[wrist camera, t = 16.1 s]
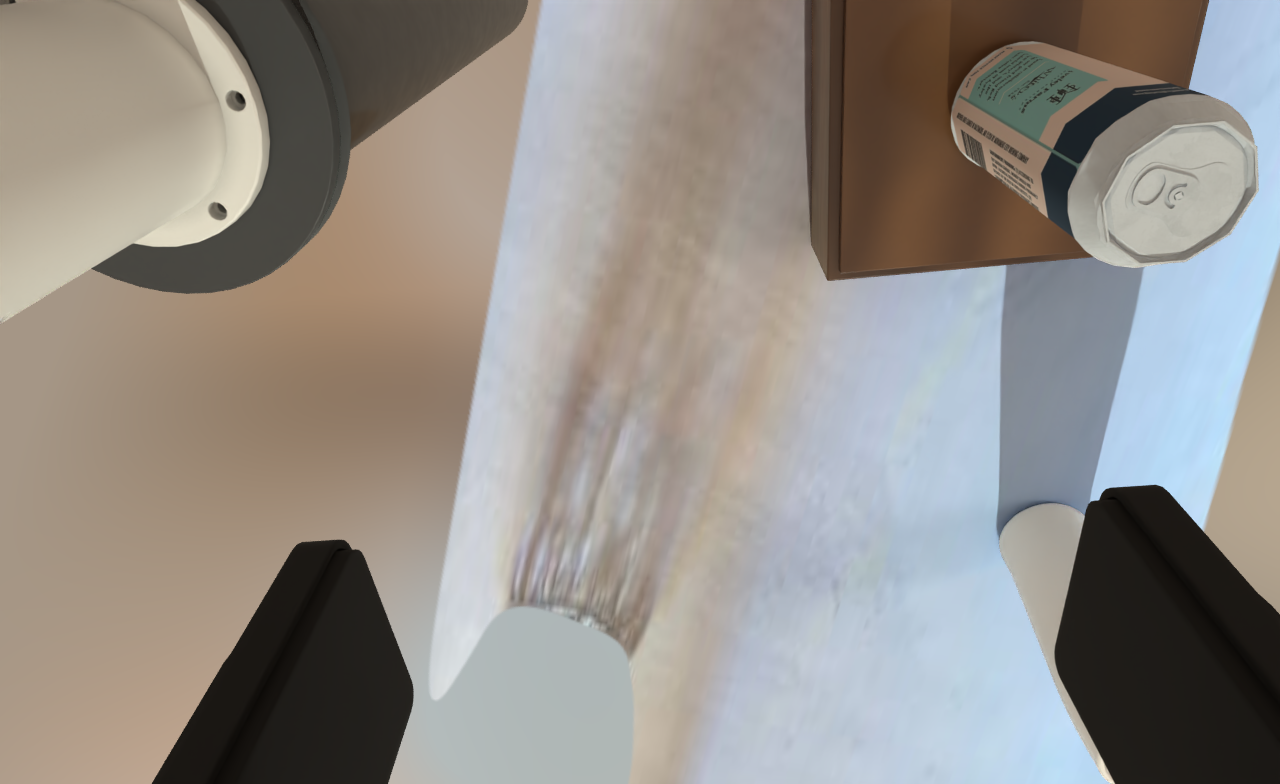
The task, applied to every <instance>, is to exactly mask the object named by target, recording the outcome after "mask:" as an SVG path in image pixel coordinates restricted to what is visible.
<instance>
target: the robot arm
mask: <svg viewBox="0 0 1280 784" xmlns="http://www.w3.org/2000/svg"><path fill="white" fill-rule="evenodd" d="M240 93H241V94H242V95H243V97H244V99H245V102H244V101H242V100H241V98H240ZM269 150H270V136H269V127H268V118H267V113H266V110H265V106H264V103H263V99H262V96H261V93H260V89H259V87H258V84H257V82H256V80H255V78H254V76H253V74H252V72H251V70H250V68H249V66H248V63H247V61H246V59H245V58H244V57H243V55H242V54H241V52H240V51H239V49H238V48H237V46H236V45H235V43H234V42H233V40H232V39H231V37H230V36H229V34H228V33H227V32H226V31H225V30H224V29H223V27H222V26H221V25H220V24H219V23H218V22H217V21H216V20H215V19H214V17H213V16H212V15H211V14H210V13H209V12H208V11H207V10H206V9H205V8H204V7H203V6H202V5H200V4H199V3H198V2H197V1H196V0H0V324H1V323H2V322H4V321H6V320H7V319H9V318H11V317H12V316H14V315H16V314H17V313H19V312H20V311H22V310H24V309H25V308H27V307H28V306H30V305H32V304H33V303H35V302H37V301H38V300H40V299H42V298H43V297H45V296H47V295H48V294H50V293H51V292H53V291H55V290H56V289H58V288H59V287H61V286H63V285H65V284H66V283H68V282H69V281H71V280H73V279H74V278H76V277H78V276H79V275H81V274H83V273H84V272H86V271H88V270H89V269H91V268H93V267H94V266H96V265H98V264H99V263H101V262H103V261H104V260H106V259H108V258H109V257H111V256H113V255H114V254H116V253H117V252H119V251H121V250H122V249H124V248H126V247H127V246H129V245H131V244H132V243H134V244H140V245H146V246H152V247H178V246H183V245H187V244H192V243H197V242H201V241H203V240H205V239H207V238H209V237H212V236H214V235H216V234H218V233H220V232H221V231H223V230H224V229H226V228H227V227H229V226H230V225H232V224H233V223H234V222H236V221H237V220H238V219H239V218H240V217H241V216H242V215H243V214H244V213H245V212H246V211H247V210H248V209H249V208H250V207H251V205H252V203H253V202H254V200H255V198H256V197H257V195H258V193H259V192H260V190H261V188H262V185H263V182H264V178H265V175H266V172H267V169H268V162H269ZM222 205H223V206H224V207H225V208H224V207H223V206H222ZM1054 657H1055V664H1056V668H1057V672H1058V675H1059V677H1060V679H1061V681H1062V683H1063V685H1064V687H1065V689H1066V691H1067V693H1068V695H1069V697H1070V699H1071V700H1072V702H1073V704H1074V706H1075V708H1076V710H1077V712H1078V714H1079V716H1080V718H1081V720H1082V722H1083V723H1084V725H1085V727H1086V729H1087V731H1088V733H1089V735H1090V737H1091V739H1092V741H1093V743H1094V745H1095V746H1096V748H1097V750H1098V752H1099V754H1100V756H1101V758H1102V760H1103V762H1104V764H1105V766H1106V768H1107V770H1108V771H1109V773H1110V775H1111V777H1112V779H1113V781H1114V783H1115V784H1280V614H1279V613H1278V612H1277V611H1276V610H1275V609H1274V608H1273V606H1272V605H1270V604H1269V603H1268V602H1267V601H1266V600H1265V599H1264V598H1263V597H1261V596H1260V595H1259V594H1258V593H1257V592H1256V591H1255V590H1254V588H1253V587H1252V586H1251V585H1250V584H1249V583H1248V582H1247V581H1246V579H1245V578H1244V577H1243V576H1242V575H1241V574H1240V573H1239V571H1238V570H1237V569H1236V568H1235V567H1234V566H1233V565H1232V564H1231V562H1230V561H1229V560H1228V559H1227V558H1226V557H1225V556H1224V555H1223V553H1222V552H1221V551H1220V550H1219V549H1218V548H1217V546H1216V545H1215V544H1214V543H1213V542H1212V541H1211V540H1210V539H1209V537H1208V536H1207V535H1206V534H1205V533H1204V532H1203V531H1202V529H1201V528H1200V527H1199V526H1198V525H1197V524H1196V523H1195V522H1194V520H1193V519H1192V518H1191V517H1190V516H1189V515H1188V514H1187V512H1186V511H1185V510H1184V509H1183V508H1182V507H1181V506H1180V505H1179V503H1178V502H1177V501H1176V500H1175V499H1174V498H1173V497H1172V495H1171V494H1170V493H1169V492H1168V491H1167V490H1165V489H1164V488H1163V487H1161V486H1158V485H1146V486H1131V487H1116V488H1109V489H1106V490H1105V491H1104V492H1103V493H1102V494H1101V497H1100V500H1099V501H1092V502H1090V503H1089V504H1088V507H1087V509H1086V513H1085V517H1084V522H1083V526H1082V530H1081V535H1080V539H1079V544H1078V548H1077V552H1076V557H1075V561H1074V565H1073V570H1072V574H1071V578H1070V583H1069V587H1068V591H1067V596H1066V600H1065V605H1064V609H1063V613H1062V618H1061V622H1060V626H1059V631H1058V635H1057V639H1056V644H1055V650H1054ZM412 706H413V684H412V680H411V678H410V675H409V673H408V670H407V667H406V665H405V662H404V659H403V657H402V654H401V651H400V649H399V646H398V644H397V641H396V638H395V636H394V633H393V631H392V628H391V625H390V623H389V620H388V618H387V615H386V613H385V610H384V607H383V605H382V602H381V599H380V597H379V594H378V592H377V589H376V586H375V584H374V581H373V579H372V576H371V573H370V571H369V568H368V565H367V563H366V560H365V558H364V556H363V554H362V552H361V551H359V550H352V549H351V547H350V545H349V544H348V543H347V542H346V541H345V540H329V541H313V542H301V543H299V544H297V545H296V546H295V547H294V549H293V550H292V552H291V553H290V555H289V557H288V558H287V560H286V562H285V563H284V565H283V567H282V568H281V570H280V572H279V573H278V575H277V577H276V578H275V580H274V582H273V584H272V585H271V587H270V589H269V590H268V592H267V594H266V595H265V597H264V599H263V600H262V602H261V604H260V605H259V607H258V609H257V610H256V612H255V614H254V616H253V617H252V619H251V621H250V622H249V624H248V626H247V627H246V629H245V631H244V633H243V634H242V636H241V637H240V639H239V641H238V643H237V644H236V646H235V648H234V649H233V651H232V653H231V654H230V655H229V657H228V658H227V659H226V661H225V662H224V663H223V665H222V667H221V668H220V670H219V672H218V673H217V675H216V677H215V678H214V680H213V682H212V683H211V685H210V687H209V688H208V690H207V692H206V693H205V695H204V697H203V698H202V700H201V702H200V704H199V705H198V707H197V708H196V710H195V712H194V713H193V715H192V717H191V719H190V720H189V722H188V724H187V726H186V727H185V729H184V730H183V732H182V734H181V736H180V737H179V739H178V740H177V742H176V744H175V745H174V747H173V749H172V750H171V752H170V754H169V755H168V757H167V759H166V760H165V762H164V764H163V766H162V768H161V769H160V771H159V772H158V774H157V776H156V777H155V779H154V781H153V782H152V784H388V782H389V779H390V775H391V772H392V769H393V766H394V763H395V760H396V756H397V754H398V751H399V747H400V744H401V741H402V738H403V735H404V732H405V729H406V726H407V723H408V719H409V716H410V713H411V709H412Z"/></svg>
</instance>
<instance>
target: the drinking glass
mask: <svg viewBox="0 0 1280 784" xmlns="http://www.w3.org/2000/svg"><path fill="white" fill-rule="evenodd" d="M1084 517H1085V516H1084V515H1083V514H1082V513H1081V512H1080V511H1078V510H1077V509H1075V508H1073V507H1071V506H1068V505H1064V504H1058V503H1046V504H1040V505H1035V506H1032V507H1029V508H1027V509H1025V510H1023V511H1021V512H1019V513H1018V514H1016V515H1015V516H1014V517H1013V518H1012V519H1010V521H1009V522H1008V523H1007V524H1006V525H1005V527H1004V528H1003V530H1002V532H1001V535H1000V539H999V549H1000V553H1001V556H1002V558H1003V560H1004V562H1005V564H1006V566H1007V568H1008V569H1009V571H1010V573H1011V575H1012V578H1013V580H1014V583H1015V585H1016V587H1017V590H1018V592H1019V595H1020V597H1021V600H1022V602H1023V605H1024V607H1025V610H1026V612H1027V615H1028V617H1029V620H1030V622H1031V625H1032V628H1033V630H1034V633H1035V635H1036V638H1037V640H1038V643H1039V645H1040V648H1041V650H1042V653H1043V656H1044V658H1045V661H1046V663H1047V666H1048V668H1049V671H1050V673H1051V676H1052V678H1053V681H1054V683H1055V686H1056V688H1057V691H1058V693H1059V695H1060V698H1061V700H1062V702H1063V704H1064V706H1065V708H1066V711H1067V713H1068V715H1069V717H1070V719H1071V721H1072V723H1073V725H1074V727H1075V729H1076V731H1077V733H1078V734H1079V736H1080V738H1081V740H1082V742H1083V744H1084V745H1085V747H1086V749H1087V751H1088V752H1089V754H1090V756H1091V758H1092V759H1093V761H1094V763H1095V764H1096V766H1097V768H1098V770H1099V772H1100V773H1101V775H1102V776H1103V777H1104V778H1105V779H1106V780H1107V781H1108V782H1109V783H1111V784H1115V783H1114V781H1113V779H1112V777H1111V775H1110V773H1109V771H1108V770H1107V768H1106V766H1105V764H1104V762H1103V760H1102V758H1101V756H1100V754H1099V752H1098V750H1097V748H1096V746H1095V745H1094V743H1093V741H1092V739H1091V737H1090V735H1089V733H1088V731H1087V729H1086V727H1085V725H1084V723H1083V722H1082V720H1081V718H1080V716H1079V714H1078V712H1077V710H1076V708H1075V706H1074V704H1073V702H1072V700H1071V699H1070V697H1069V695H1068V693H1067V691H1066V689H1065V687H1064V685H1063V683H1062V681H1061V679H1060V677H1059V675H1058V672H1057V668H1056V664H1055V657H1054V650H1055V644H1056V639H1057V635H1058V631H1059V626H1060V622H1061V618H1062V613H1063V609H1064V605H1065V600H1066V596H1067V591H1068V587H1069V583H1070V578H1071V574H1072V570H1073V565H1074V561H1075V557H1076V552H1077V548H1078V544H1079V539H1080V535H1081V530H1082V526H1083V522H1084Z"/></svg>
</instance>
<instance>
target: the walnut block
mask: <svg viewBox="0 0 1280 784" xmlns="http://www.w3.org/2000/svg"><path fill="white" fill-rule="evenodd" d="M1208 3H1209V0H812V105H811V245H812V247H813V250H814V252H815V254H816V256H817V258H818V261H819V263H820V265H821V267H822V269H823V272H824V274H825V276H826V278H827V280H828V281H833V280H844V279H855V278H866V277H878V276H889V275H900V274H911V273H922V272H933V271H944V270H956V269H967V268H978V267H989V266H1000V265H1011V264H1022V263H1034V262H1045V261H1056V260H1067V259H1078V258H1089V257H1093V256H1092V255H1091V254H1089V253H1088V252H1086V251H1085V250H1084V249H1083V248H1082V246H1081V245H1080V244H1079V243H1078V242H1077V241H1076V239H1074V238H1073V237H1072V236H1070V235H1069V234H1068V233H1067V232H1065V231H1064V230H1063V229H1061V228H1060V227H1059V226H1058V225H1056V224H1055V223H1054V222H1052V221H1051V220H1050V219H1048V218H1047V217H1046V216H1045V215H1043V214H1042V213H1041V212H1039V211H1038V210H1037V209H1036V208H1034V207H1033V206H1032V205H1030V204H1029V203H1028V202H1027V201H1025V200H1024V199H1023V198H1021V197H1020V196H1019V195H1017V194H1016V193H1015V192H1014V191H1012V190H1011V189H1010V188H1008V187H1007V186H1006V185H1005V184H1003V183H1002V182H1001V181H999V180H998V179H997V178H995V177H994V176H993V175H992V174H990V173H989V172H988V171H986V170H985V169H984V168H983V167H981V166H979V165H977V164H975V163H974V162H972V161H970V160H969V159H967V157H966V156H965V155H964V154H963V153H962V152H961V151H960V150H959V148H958V146H957V144H956V143H955V139H954V136H953V132H952V129H951V113H952V106H953V103H954V100H955V97H956V93H957V91H958V89H959V88H960V86H961V84H962V82H963V80H964V79H965V77H966V76H967V75H968V74H969V72H970V71H971V70H972V69H973V67H974V66H975V65H976V64H977V63H979V62H980V61H981V60H982V59H984V58H985V57H987V56H988V55H989V54H991V53H992V52H994V51H995V50H998V49H1000V48H1002V47H1004V46H1007V45H1010V44H1014V43H1018V42H1031V41H1034V42H1041V43H1046V44H1049V45H1052V46H1055V47H1058V48H1061V49H1065V50H1068V51H1071V52H1074V53H1077V54H1080V55H1083V56H1086V57H1090V58H1093V59H1096V60H1099V61H1102V62H1105V63H1108V64H1111V65H1115V66H1118V67H1121V68H1124V69H1127V70H1130V71H1133V72H1136V73H1140V74H1143V75H1146V76H1149V77H1152V78H1155V79H1158V80H1161V81H1164V82H1168V83H1171V84H1174V85H1177V86H1180V87H1183V88H1186V89H1189V85H1190V80H1191V76H1192V72H1193V67H1194V63H1195V59H1196V55H1197V50H1198V46H1199V42H1200V37H1201V33H1202V29H1203V24H1204V20H1205V16H1206V12H1207V7H1208Z"/></svg>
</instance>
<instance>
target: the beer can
mask: <svg viewBox="0 0 1280 784" xmlns="http://www.w3.org/2000/svg"><path fill="white" fill-rule="evenodd" d="M951 129H952V132H953V136H954V139H955V143H956V144H957V146H958V148H959V150H960V151H961V152H962V153H963V154H964V155H965V156H966V157H967V159H969V160H970V161H972V162H974V163H975V164H977V165H979V166H981V167H983V168H984V169H985V170H986V171H988V172H989V173H990V174H992V175H993V176H994V177H995V178H997V179H998V180H999V181H1001V182H1002V183H1003V184H1005V185H1006V186H1007V187H1008V188H1010V189H1011V190H1012V191H1014V192H1015V193H1016V194H1017V195H1019V196H1020V197H1021V198H1023V199H1024V200H1025V201H1027V202H1028V203H1029V204H1030V205H1032V206H1033V207H1034V208H1036V209H1037V210H1038V211H1039V212H1041V213H1042V214H1043V215H1045V216H1046V217H1047V218H1048V219H1050V220H1051V221H1052V222H1054V223H1055V224H1056V225H1058V226H1059V227H1060V228H1061V229H1063V230H1064V231H1065V232H1067V233H1068V234H1069V235H1070V236H1072V237H1073V238H1074V239H1076V241H1077V242H1078V243H1079V244H1080V245H1081V246H1082V248H1083V249H1084V250H1085V251H1086V252H1088V253H1089V254H1091V255H1092V256H1093V257H1095V258H1096V259H1098V260H1100V261H1103V262H1106V263H1108V264H1111V265H1114V266H1122V267H1130V268H1139V267H1145V266H1151V265H1157V264H1166V263H1178V262H1186V261H1188V260H1189V259H1191V258H1193V257H1194V256H1196V255H1197V254H1199V253H1201V252H1202V251H1204V250H1206V249H1207V248H1209V247H1211V246H1212V245H1214V244H1215V243H1217V242H1219V241H1220V240H1222V239H1224V238H1225V237H1227V236H1228V235H1230V234H1231V233H1232V231H1233V230H1234V228H1235V226H1236V225H1237V223H1238V222H1239V220H1240V219H1241V217H1242V216H1243V214H1244V212H1245V211H1246V209H1247V208H1248V206H1249V205H1250V203H1251V202H1252V200H1253V199H1254V197H1255V195H1256V194H1257V192H1258V191H1259V188H1258V156H1257V146H1256V145H1254V138H1253V135H1252V132H1251V129H1250V128H1249V126H1248V124H1247V122H1246V121H1245V120H1244V118H1243V117H1242V116H1241V115H1240V113H1238V112H1237V111H1236V110H1235V109H1234V108H1233V107H1231V106H1230V105H1229V104H1227V103H1225V102H1223V101H1220V100H1218V99H1216V98H1213V97H1211V96H1208V95H1205V94H1202V93H1199V92H1196V91H1193V90H1189V89H1186V88H1183V87H1180V86H1177V85H1174V84H1171V83H1168V82H1164V81H1161V80H1158V79H1155V78H1152V77H1149V76H1146V75H1143V74H1140V73H1136V72H1133V71H1130V70H1127V69H1124V68H1121V67H1118V66H1115V65H1111V64H1108V63H1105V62H1102V61H1099V60H1096V59H1093V58H1090V57H1086V56H1083V55H1080V54H1077V53H1074V52H1071V51H1068V50H1065V49H1061V48H1058V47H1055V46H1052V45H1049V44H1046V43H1041V42H1034V41H1031V42H1018V43H1014V44H1010V45H1007V46H1004V47H1002V48H1000V49H998V50H995V51H994V52H992V53H991V54H989V55H988V56H987V57H985V58H984V59H982V60H981V61H980V62H979V63H977V64H976V65H975V66H974V67H973V69H972V70H971V71H970V72H969V74H968V75H967V76H966V77H965V79H964V80H963V82H962V84H961V86H960V88H959V89H958V91H957V93H956V97H955V100H954V103H953V106H952V113H951Z"/></svg>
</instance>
